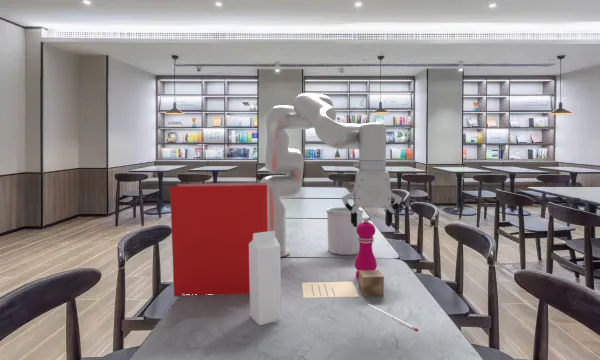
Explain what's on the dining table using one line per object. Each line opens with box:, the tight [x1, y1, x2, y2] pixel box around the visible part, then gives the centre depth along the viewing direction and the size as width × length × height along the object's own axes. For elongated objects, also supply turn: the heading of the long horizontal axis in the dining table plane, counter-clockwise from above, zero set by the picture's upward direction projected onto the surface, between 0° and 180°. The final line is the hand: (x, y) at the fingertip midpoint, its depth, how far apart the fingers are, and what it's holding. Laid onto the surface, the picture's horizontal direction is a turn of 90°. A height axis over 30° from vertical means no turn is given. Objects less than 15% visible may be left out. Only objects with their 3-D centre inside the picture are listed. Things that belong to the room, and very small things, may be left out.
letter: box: [301, 281, 360, 299], centre depth 113 cm, size 16×12×1 cm
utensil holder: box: [326, 206, 364, 256], centre depth 155 cm, size 15×15×18 cm
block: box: [358, 269, 385, 298], centre depth 110 cm, size 6×6×6 cm
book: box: [169, 182, 268, 297], centre depth 113 cm, size 27×8×32 cm, turn 95°
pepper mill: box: [354, 217, 378, 280], centre depth 122 cm, size 7×7×20 cm
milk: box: [249, 231, 282, 326], centre depth 94 cm, size 6×6×22 cm
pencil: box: [365, 302, 419, 332], centre depth 95 cm, size 1×19×1 cm, turn 31°
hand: (371, 225), depth 109 cm, fingers open, 9 cm apart
